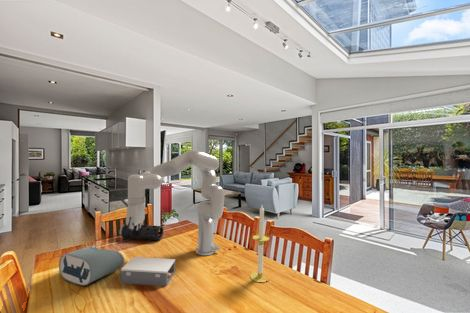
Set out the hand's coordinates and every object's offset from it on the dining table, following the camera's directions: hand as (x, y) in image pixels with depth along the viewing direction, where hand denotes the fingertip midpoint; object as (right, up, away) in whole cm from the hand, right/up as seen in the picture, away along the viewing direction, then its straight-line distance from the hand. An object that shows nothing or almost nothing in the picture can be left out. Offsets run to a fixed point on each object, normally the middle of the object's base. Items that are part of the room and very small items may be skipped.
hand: (136, 237), depth 110 cm
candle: (+61, -22, +5) cm, 65 cm away
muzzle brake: (-18, -19, +49) cm, 55 cm away
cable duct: (+5, -21, +2) cm, 21 cm away
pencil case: (-23, -20, +4) cm, 31 cm away
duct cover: (+6, -14, +2) cm, 16 cm away
